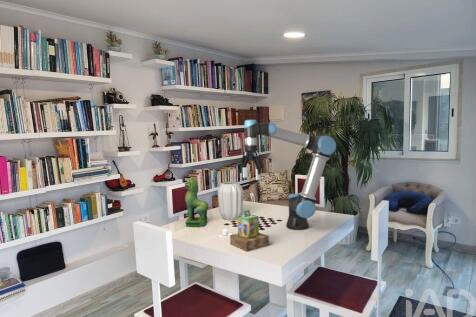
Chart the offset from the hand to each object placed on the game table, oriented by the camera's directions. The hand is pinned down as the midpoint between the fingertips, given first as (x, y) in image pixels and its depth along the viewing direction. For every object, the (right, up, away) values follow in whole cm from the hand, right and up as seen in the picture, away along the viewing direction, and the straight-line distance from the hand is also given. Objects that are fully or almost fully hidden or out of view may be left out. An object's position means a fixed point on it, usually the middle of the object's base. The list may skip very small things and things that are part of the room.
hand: (251, 178), depth 210 cm
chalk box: (-2, -33, -14) cm, 36 cm away
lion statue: (-38, -36, +32) cm, 61 cm away
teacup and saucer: (-16, -38, +2) cm, 41 cm away
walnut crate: (-2, -38, -14) cm, 41 cm away
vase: (-14, -34, +48) cm, 60 cm away
